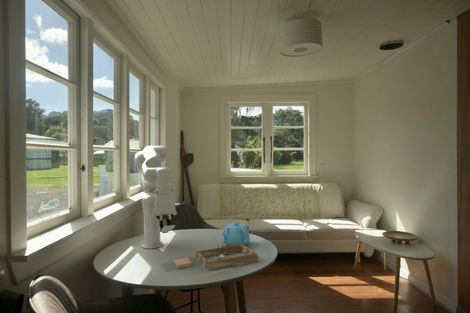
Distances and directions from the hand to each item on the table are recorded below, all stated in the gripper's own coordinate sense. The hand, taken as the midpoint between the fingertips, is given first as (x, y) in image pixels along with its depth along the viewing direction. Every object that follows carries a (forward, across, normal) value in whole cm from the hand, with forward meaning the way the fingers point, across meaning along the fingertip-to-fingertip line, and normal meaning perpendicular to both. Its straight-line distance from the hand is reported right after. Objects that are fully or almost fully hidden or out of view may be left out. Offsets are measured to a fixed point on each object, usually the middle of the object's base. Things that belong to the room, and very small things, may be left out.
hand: (165, 227), depth 150 cm
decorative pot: (+17, +44, +5) cm, 47 cm away
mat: (+17, +4, -10) cm, 21 cm away
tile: (+16, +5, -8) cm, 18 cm away
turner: (0, 0, -5) cm, 5 cm away
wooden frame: (+17, +27, -16) cm, 36 cm away
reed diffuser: (+18, +27, -14) cm, 35 cm away
